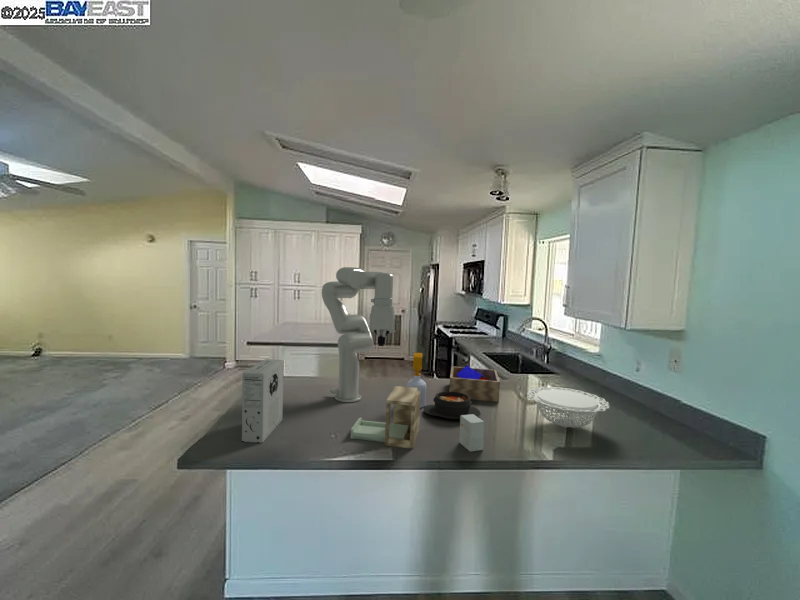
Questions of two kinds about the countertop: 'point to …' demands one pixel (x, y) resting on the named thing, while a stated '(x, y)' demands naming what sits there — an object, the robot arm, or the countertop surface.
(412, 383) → the soap bottle
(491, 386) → the open wooden box
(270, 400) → the cereal box
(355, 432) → the tray
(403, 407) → the shelf
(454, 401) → the casserole
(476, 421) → the small box
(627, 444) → the countertop surface
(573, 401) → the colander
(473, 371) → the house
